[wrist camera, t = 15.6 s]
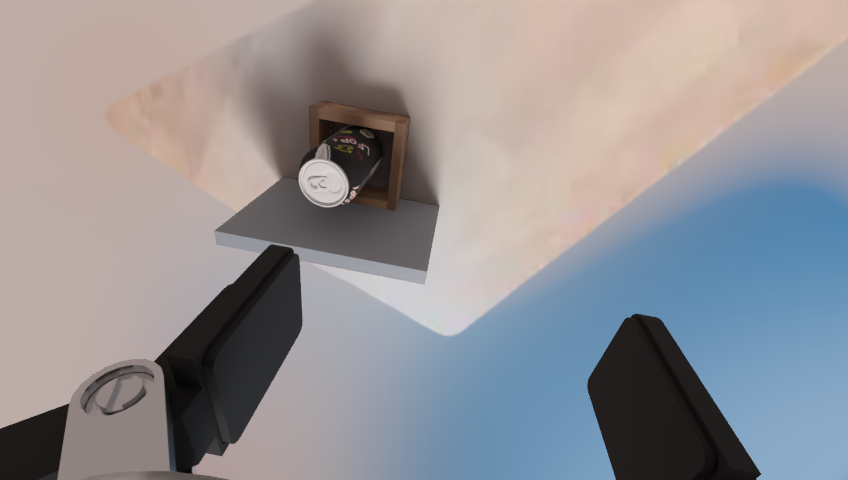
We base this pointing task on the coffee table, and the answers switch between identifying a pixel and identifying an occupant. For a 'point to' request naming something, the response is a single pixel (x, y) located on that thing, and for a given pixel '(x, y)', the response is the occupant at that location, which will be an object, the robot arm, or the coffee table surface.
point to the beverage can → (340, 166)
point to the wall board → (337, 232)
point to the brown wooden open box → (371, 119)
